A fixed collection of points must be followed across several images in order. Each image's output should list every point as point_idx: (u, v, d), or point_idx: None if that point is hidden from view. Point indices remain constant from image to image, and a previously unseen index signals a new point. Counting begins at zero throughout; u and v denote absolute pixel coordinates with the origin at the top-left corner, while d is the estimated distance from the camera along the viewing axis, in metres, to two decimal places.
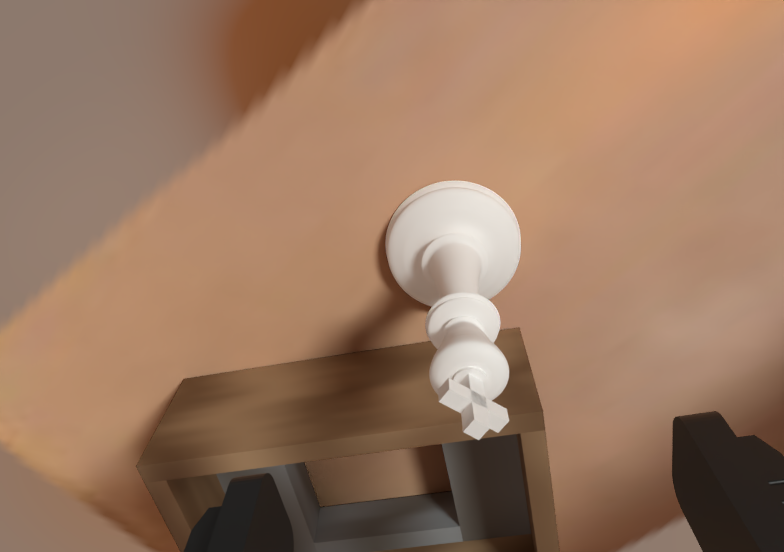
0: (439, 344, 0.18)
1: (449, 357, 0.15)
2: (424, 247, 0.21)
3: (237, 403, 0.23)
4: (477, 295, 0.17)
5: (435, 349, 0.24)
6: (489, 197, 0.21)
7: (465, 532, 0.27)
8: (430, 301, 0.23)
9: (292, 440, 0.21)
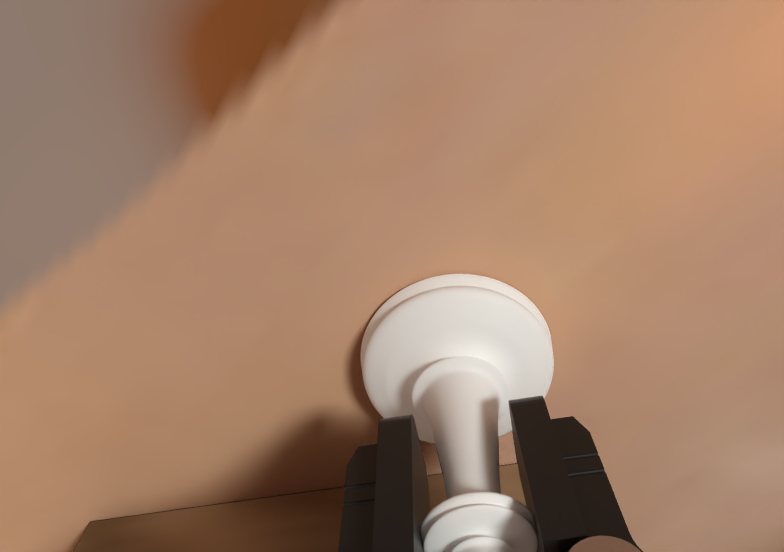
0: None
1: None
2: (416, 372, 0.15)
3: None
4: (504, 498, 0.11)
5: (431, 492, 0.17)
6: (510, 301, 0.14)
7: None
8: (424, 437, 0.16)
9: None
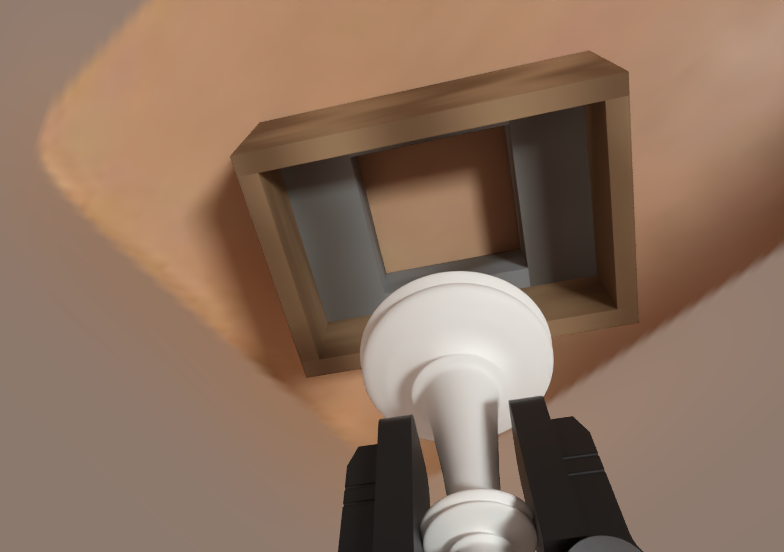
0: None
1: None
2: (415, 369, 0.15)
3: (319, 120, 0.24)
4: (503, 494, 0.11)
5: (508, 71, 0.25)
6: (510, 298, 0.14)
7: (533, 275, 0.27)
8: (424, 434, 0.16)
9: (382, 122, 0.22)
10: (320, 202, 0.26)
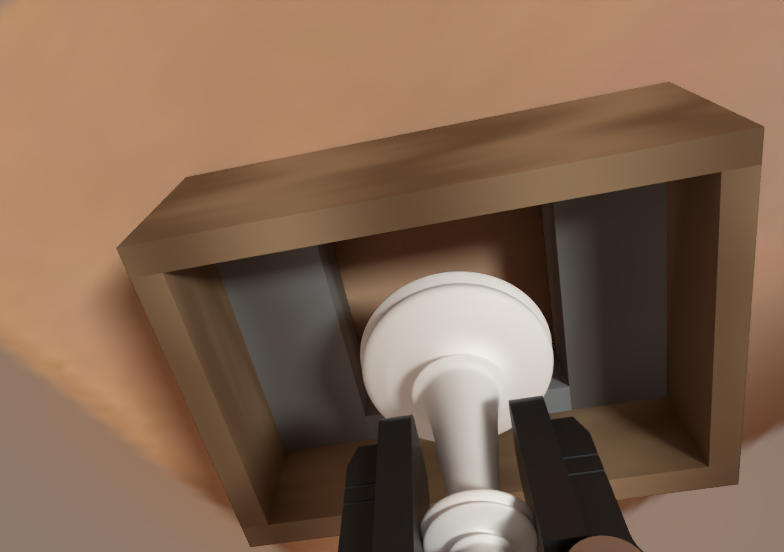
0: None
1: None
2: (415, 369, 0.15)
3: (266, 183, 0.16)
4: (503, 495, 0.11)
5: (551, 111, 0.17)
6: (510, 298, 0.14)
7: (576, 395, 0.19)
8: (424, 435, 0.16)
9: (359, 199, 0.14)
10: (271, 297, 0.18)
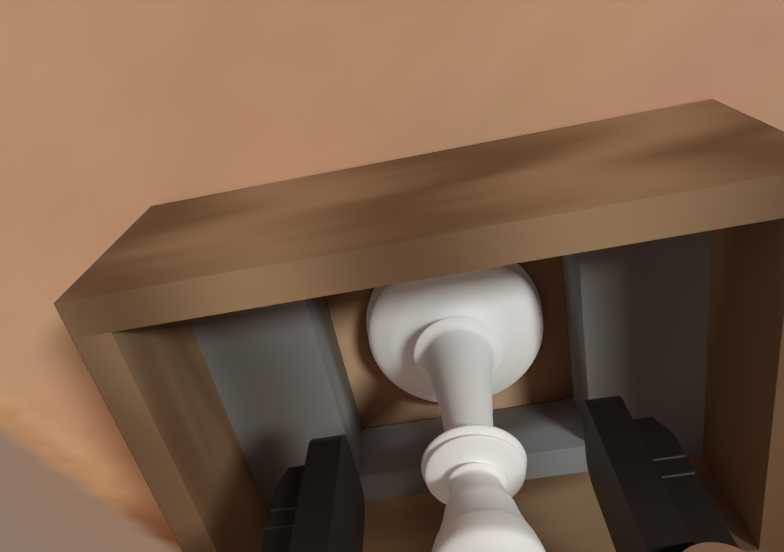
0: (441, 494, 0.12)
1: None
2: (417, 332, 0.16)
3: (240, 218, 0.14)
4: (495, 429, 0.12)
5: (575, 133, 0.14)
6: (502, 266, 0.16)
7: None
8: (426, 395, 0.17)
9: (349, 246, 0.11)
10: (249, 346, 0.15)
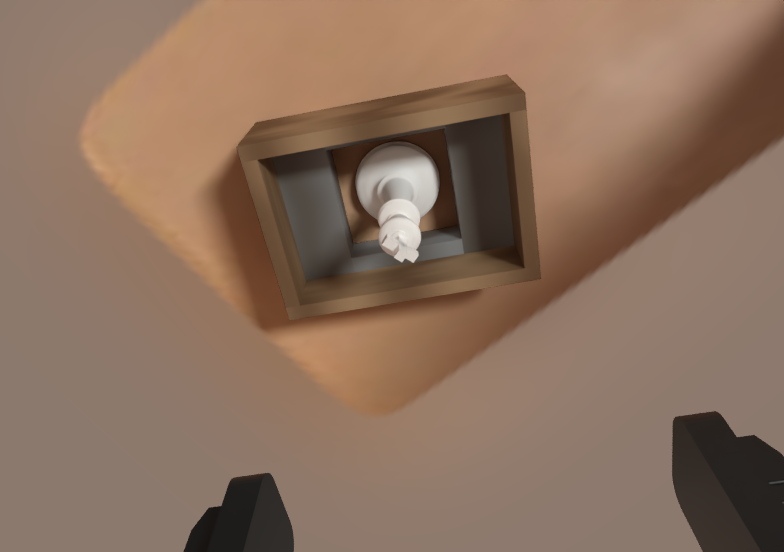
0: None
1: (388, 226, 0.29)
2: (379, 182, 0.35)
3: (302, 122, 0.32)
4: (406, 200, 0.31)
5: (446, 88, 0.33)
6: (418, 151, 0.34)
7: (466, 244, 0.36)
8: None
9: (349, 124, 0.30)
10: (302, 185, 0.34)
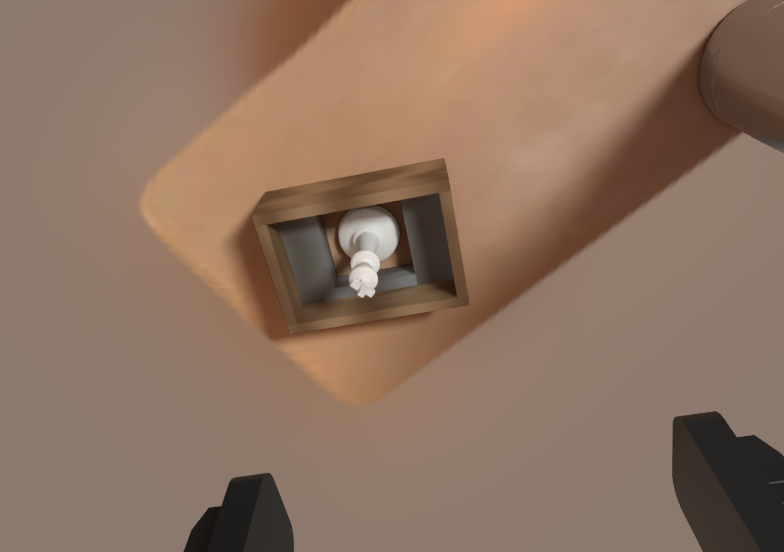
0: None
1: (355, 272, 0.42)
2: (354, 234, 0.48)
3: (298, 195, 0.45)
4: (369, 251, 0.44)
5: (400, 169, 0.46)
6: (382, 211, 0.48)
7: (418, 278, 0.49)
8: None
9: (329, 200, 0.43)
10: (298, 237, 0.47)
